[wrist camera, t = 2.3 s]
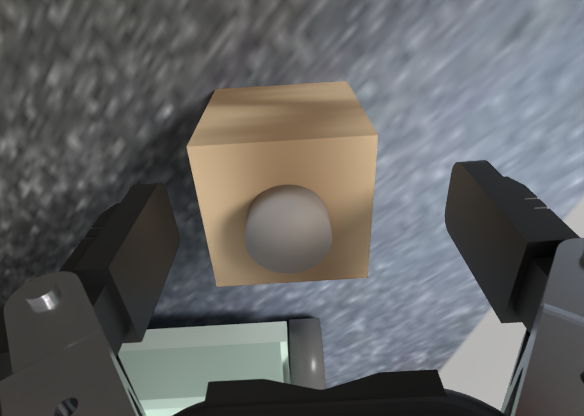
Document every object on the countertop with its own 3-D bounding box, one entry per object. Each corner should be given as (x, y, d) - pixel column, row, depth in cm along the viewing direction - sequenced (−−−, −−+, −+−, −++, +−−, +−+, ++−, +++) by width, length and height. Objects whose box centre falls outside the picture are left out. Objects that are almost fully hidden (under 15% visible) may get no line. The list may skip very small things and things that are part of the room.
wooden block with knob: (233, 200, 17) (212, 309, 12) (215, 88, 15) (178, 163, 9) (343, 193, 17) (374, 300, 12) (346, 80, 15) (387, 150, 9)
